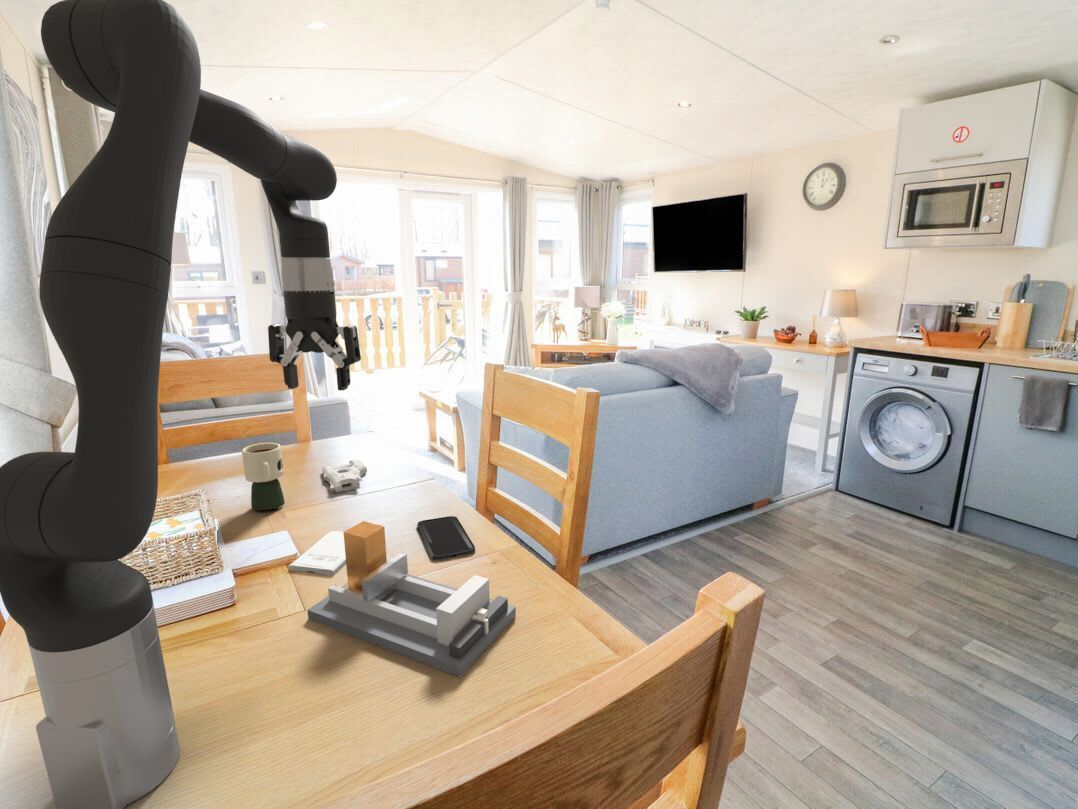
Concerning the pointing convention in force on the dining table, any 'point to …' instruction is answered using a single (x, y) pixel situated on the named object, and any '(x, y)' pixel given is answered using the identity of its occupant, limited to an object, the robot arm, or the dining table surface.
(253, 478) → the character mug
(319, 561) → the external hard drive
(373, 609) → the bench vise
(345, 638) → the dining table surface
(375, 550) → the block
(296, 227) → the robot arm
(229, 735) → the dining table surface
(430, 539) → the phone
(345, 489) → the white mechanical part
